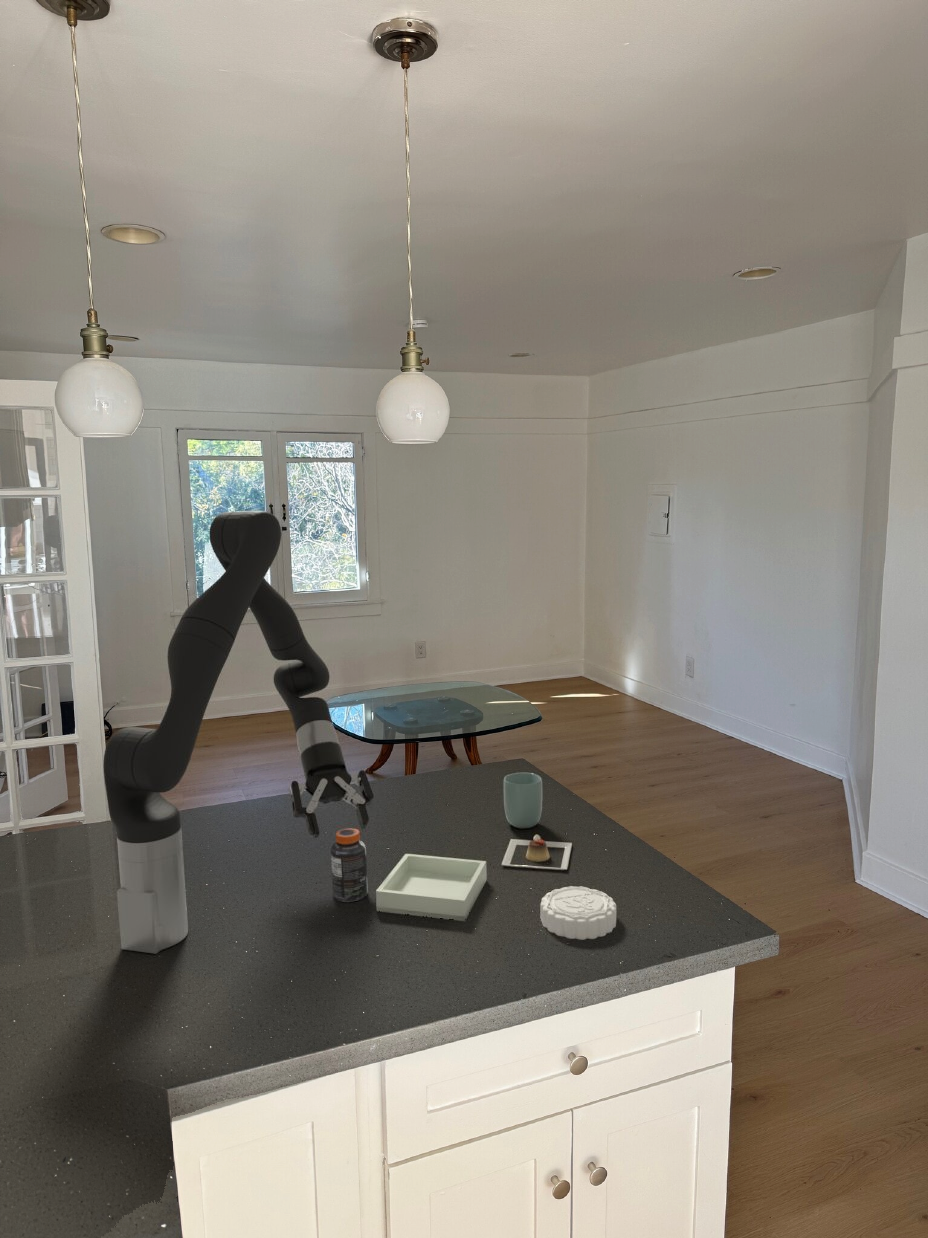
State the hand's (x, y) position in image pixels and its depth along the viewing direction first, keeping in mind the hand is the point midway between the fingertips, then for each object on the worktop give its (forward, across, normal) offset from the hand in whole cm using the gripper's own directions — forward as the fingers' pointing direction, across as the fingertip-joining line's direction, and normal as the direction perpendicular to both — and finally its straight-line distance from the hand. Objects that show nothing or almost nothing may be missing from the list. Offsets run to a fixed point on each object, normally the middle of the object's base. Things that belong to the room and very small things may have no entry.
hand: (340, 831), depth 144 cm
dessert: (+12, +36, +4) cm, 38 cm away
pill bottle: (+10, 0, +4) cm, 11 cm away
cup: (+1, +41, +14) cm, 44 cm away
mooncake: (+28, +30, -14) cm, 43 cm away
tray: (+15, +13, -1) cm, 19 cm away
